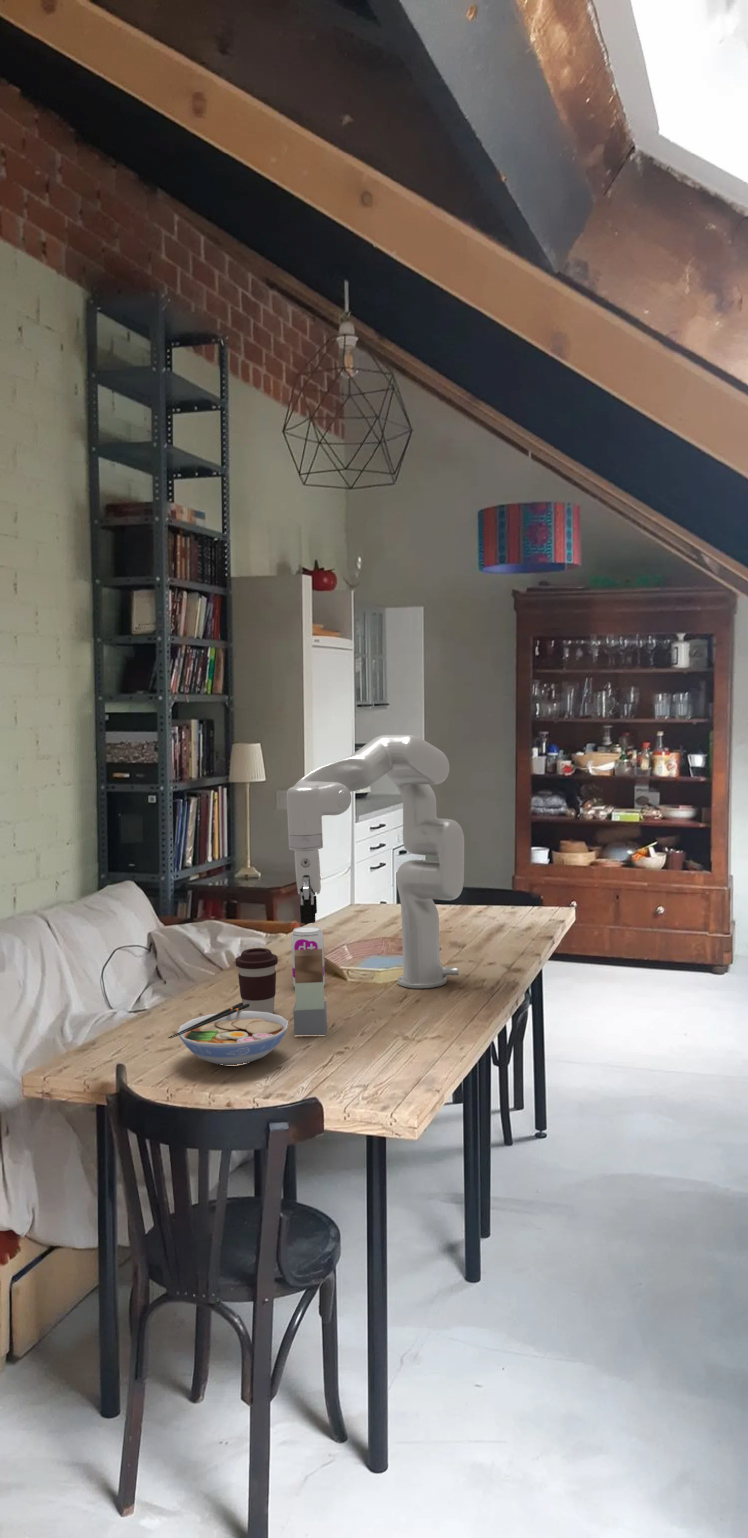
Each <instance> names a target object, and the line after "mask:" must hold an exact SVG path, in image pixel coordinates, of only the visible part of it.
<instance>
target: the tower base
mask: <svg viewBox="0 0 748 1538" xmlns="http://www.w3.org/2000/svg"><path fill="white" fill-rule="evenodd" d="M327 1008H328V1007H327V1000H324V1009H317V1010H296V1002H294V1006H293V1011H292V1012H293V1015H292V1016H293V1032H294V1033H293V1034H294V1035H326V1036H327V1034H326V1032H327V1033H328V1010H327Z"/></svg>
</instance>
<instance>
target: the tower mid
mask: <svg viewBox="0 0 748 1538" xmlns="http://www.w3.org/2000/svg"><path fill="white" fill-rule="evenodd" d="M324 986H325V985H324V978H323V982H314V983H295V987H294V997H295V1000H294V1001H295V1002H296V1010H317V1009H324V1001H325V987H324ZM295 1002H294V1003H295Z"/></svg>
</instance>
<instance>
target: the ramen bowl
mask: <svg viewBox="0 0 748 1538" xmlns="http://www.w3.org/2000/svg"><path fill="white" fill-rule="evenodd" d="M247 1007H250V1006H249V1004H245V1005H243V1003H242V1002H239V1003H237V1004H235V1005H233V1006H230V1007H229V1008H226V1009H224V1010H222V1011H220V1012H217V1013H211V1014H205V1015H203V1016H200V1017H196V1018H193V1019H189V1020H188V1021H186V1022H185V1023H183V1024H181V1025H180V1026H179V1027H178V1030H177V1033H174V1034H172V1035H171V1036H168V1037H167V1039H173V1038H176V1037H179V1038H180V1040H181V1041H182V1042H183V1044H184V1045H185V1047H186V1048H187V1049H188V1051H190V1052H191V1053H192V1054H193V1055H194V1056H196V1058H198V1059H201V1060H202V1061H205V1062H208V1063H212V1064H215V1065H218V1064H223V1065H237V1064H243V1063H248V1062H251V1061H252V1062H254V1061H256V1060H259V1059H262V1058H263V1057H266V1056H267V1055H268V1054H269V1053H271V1052H273V1050H275V1049H276V1048H277V1047H278V1045H279V1044H280V1042H281V1041H282V1039H283V1038H284V1036H285V1034H286V1032H287V1029H288V1027H289V1020H287V1019H286V1018H285V1017H284V1016H282V1015H279V1014H275V1013H268V1012H258V1011H243V1009H245V1008H247ZM252 1062H251V1063H252Z"/></svg>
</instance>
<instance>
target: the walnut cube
mask: <svg viewBox="0 0 748 1538" xmlns="http://www.w3.org/2000/svg"><path fill="white" fill-rule="evenodd" d="M294 960H295V983H314V982H323V959H322V949H307V950H295V955H294Z"/></svg>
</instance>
